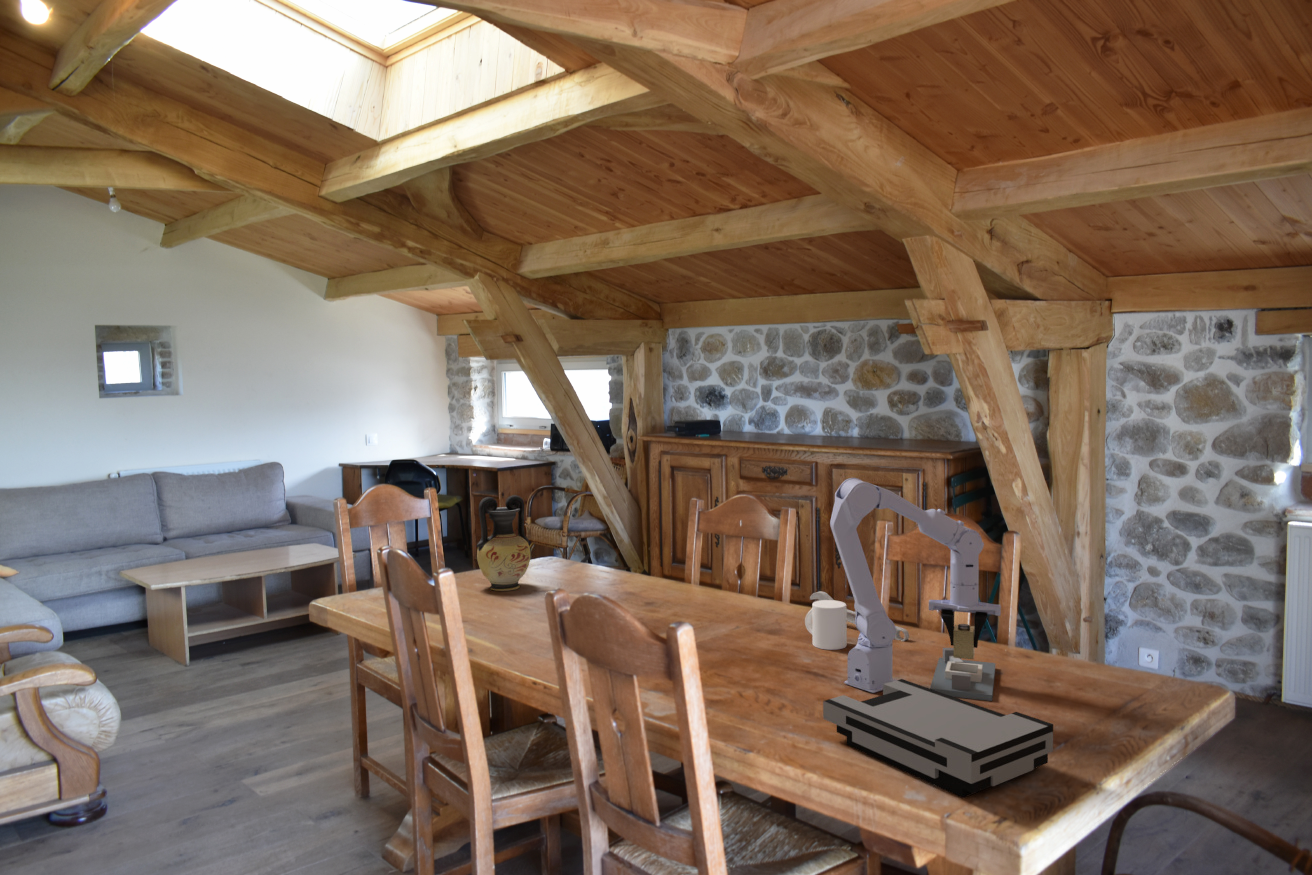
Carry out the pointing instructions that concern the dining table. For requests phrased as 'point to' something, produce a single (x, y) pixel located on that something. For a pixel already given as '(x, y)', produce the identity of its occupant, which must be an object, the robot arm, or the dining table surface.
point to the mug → (828, 624)
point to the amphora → (503, 544)
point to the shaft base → (963, 677)
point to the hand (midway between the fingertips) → (964, 645)
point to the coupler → (964, 641)
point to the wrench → (852, 615)
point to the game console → (942, 736)
